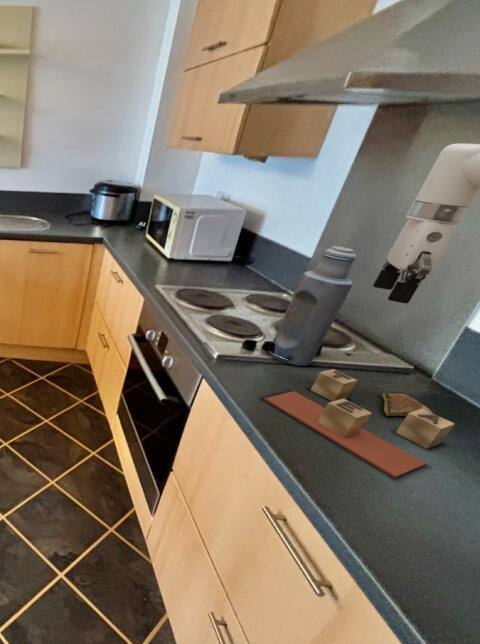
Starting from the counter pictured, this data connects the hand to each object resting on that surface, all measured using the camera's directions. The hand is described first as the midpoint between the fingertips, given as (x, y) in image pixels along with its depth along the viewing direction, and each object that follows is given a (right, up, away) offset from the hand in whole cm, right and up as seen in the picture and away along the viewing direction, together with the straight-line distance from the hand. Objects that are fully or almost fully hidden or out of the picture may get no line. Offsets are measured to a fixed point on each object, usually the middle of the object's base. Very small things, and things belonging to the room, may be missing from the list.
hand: (389, 294), depth 89 cm
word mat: (-16, -28, -5) cm, 32 cm away
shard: (+6, -26, +3) cm, 27 cm away
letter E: (-16, -27, -5) cm, 32 cm away
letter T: (-7, -22, +7) cm, 25 cm away
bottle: (-4, -15, +23) cm, 27 cm away
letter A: (0, -29, -6) cm, 30 cm away
